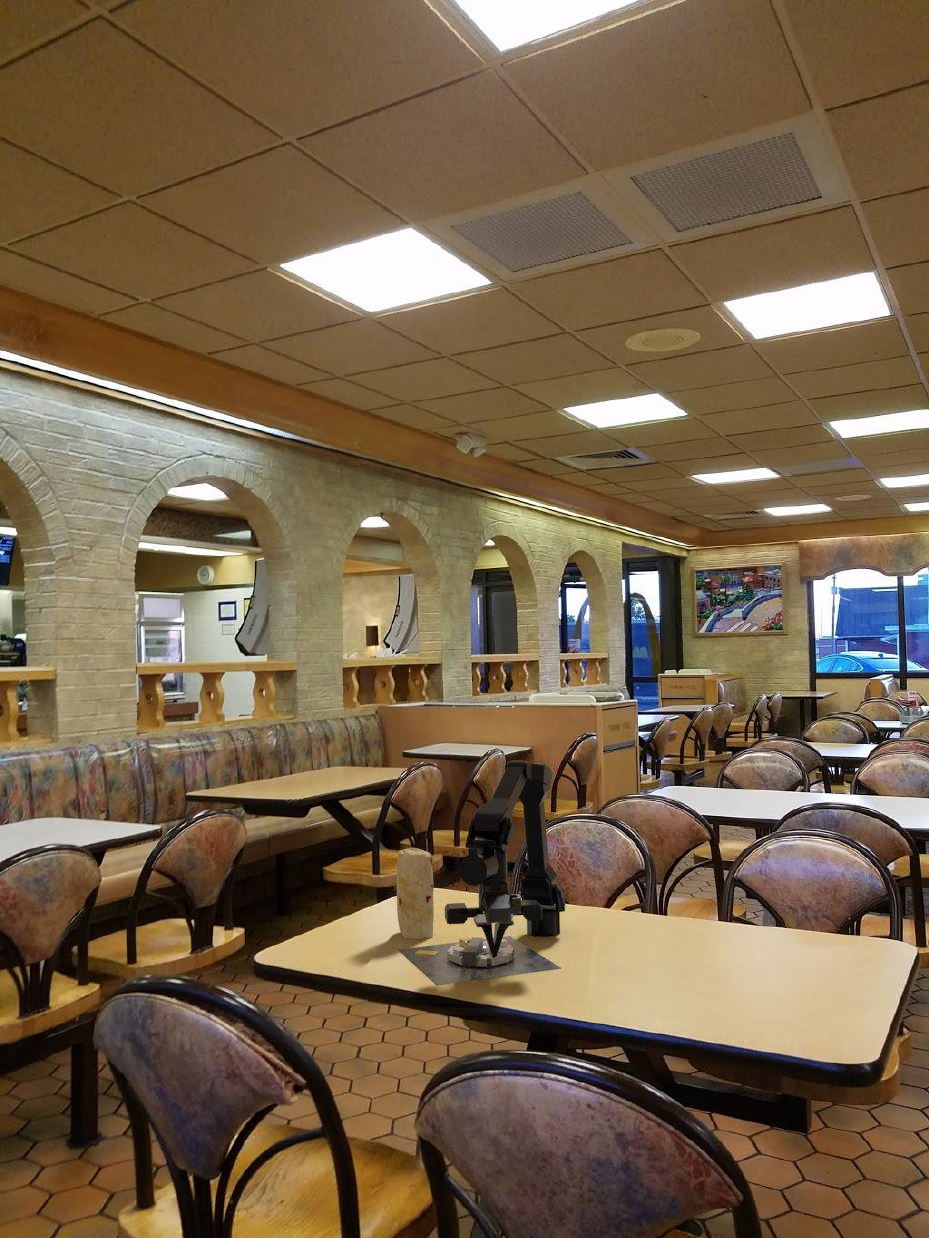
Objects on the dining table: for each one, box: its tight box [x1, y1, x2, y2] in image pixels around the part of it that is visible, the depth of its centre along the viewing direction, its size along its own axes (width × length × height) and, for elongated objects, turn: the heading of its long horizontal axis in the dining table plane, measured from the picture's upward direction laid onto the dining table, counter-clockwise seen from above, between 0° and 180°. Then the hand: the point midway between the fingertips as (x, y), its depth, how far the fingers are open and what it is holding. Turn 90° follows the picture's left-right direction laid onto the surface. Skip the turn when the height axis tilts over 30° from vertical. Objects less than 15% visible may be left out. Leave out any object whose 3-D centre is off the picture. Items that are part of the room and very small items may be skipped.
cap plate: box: [397, 935, 562, 986], centre depth 200 cm, size 26×26×3 cm
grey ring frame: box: [447, 936, 514, 966], centre depth 196 cm, size 21×13×5 cm, turn 170°
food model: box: [396, 847, 435, 940], centre depth 220 cm, size 10×7×20 cm
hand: (494, 956), depth 190 cm, fingers closed
